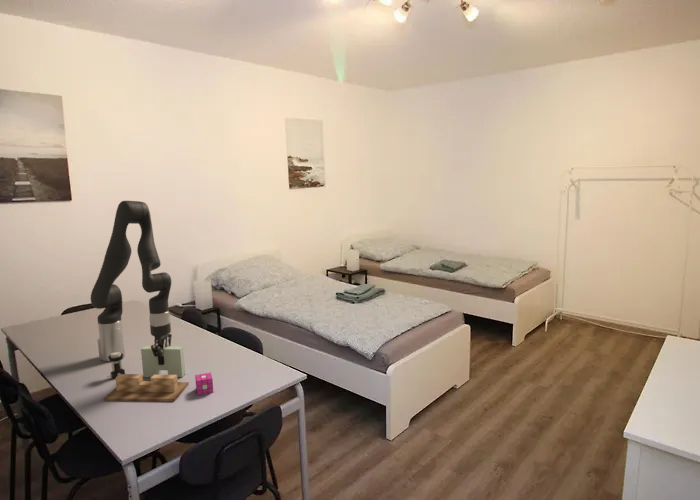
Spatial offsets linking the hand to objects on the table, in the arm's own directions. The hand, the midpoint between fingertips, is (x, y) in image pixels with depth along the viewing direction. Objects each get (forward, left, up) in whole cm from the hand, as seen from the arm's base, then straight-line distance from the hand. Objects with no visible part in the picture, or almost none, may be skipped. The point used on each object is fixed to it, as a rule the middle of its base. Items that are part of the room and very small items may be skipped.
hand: (163, 362), depth 178 cm
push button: (-19, -2, -6) cm, 20 cm away
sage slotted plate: (0, 0, -6) cm, 6 cm away
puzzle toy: (+21, -12, -6) cm, 25 cm away
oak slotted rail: (0, -14, -6) cm, 15 cm away
